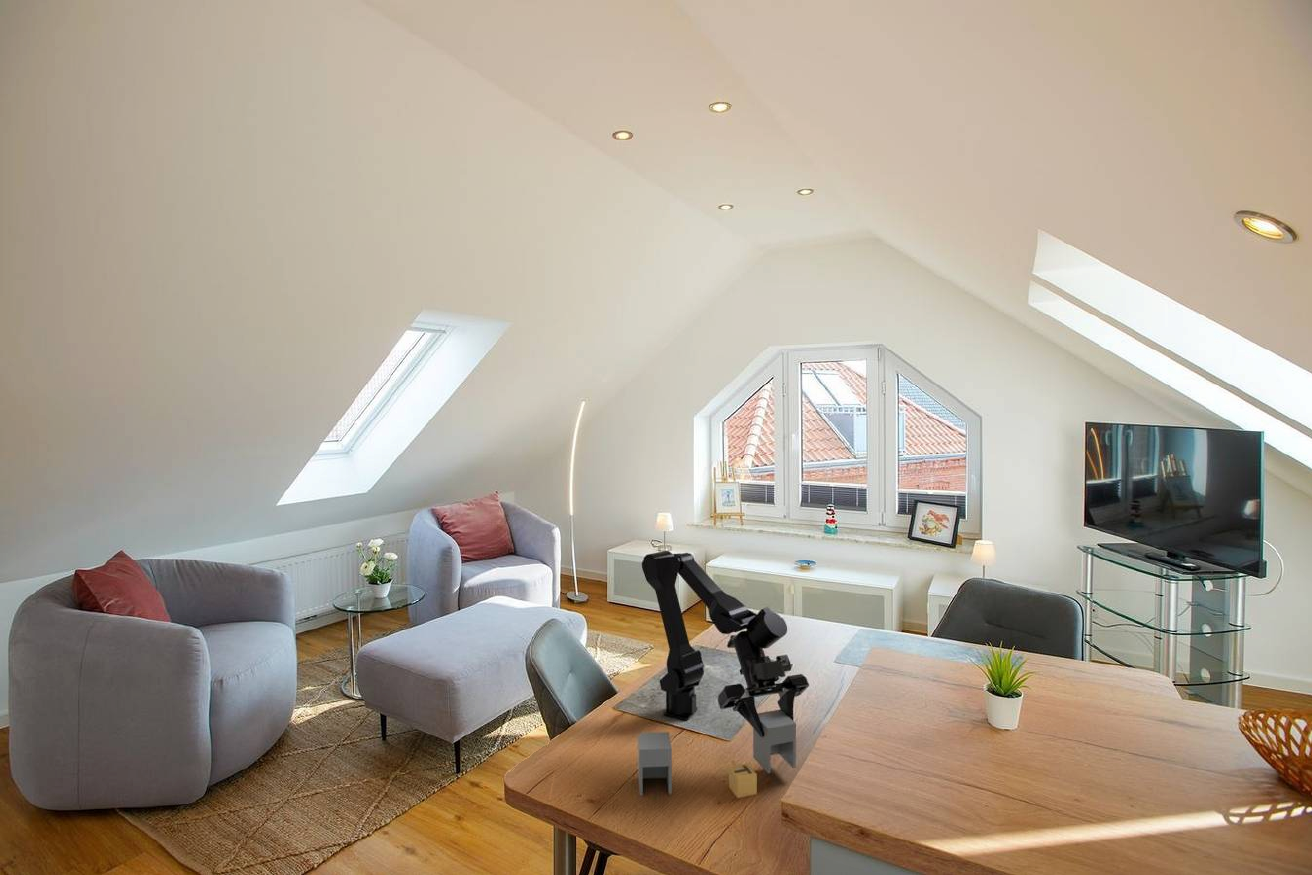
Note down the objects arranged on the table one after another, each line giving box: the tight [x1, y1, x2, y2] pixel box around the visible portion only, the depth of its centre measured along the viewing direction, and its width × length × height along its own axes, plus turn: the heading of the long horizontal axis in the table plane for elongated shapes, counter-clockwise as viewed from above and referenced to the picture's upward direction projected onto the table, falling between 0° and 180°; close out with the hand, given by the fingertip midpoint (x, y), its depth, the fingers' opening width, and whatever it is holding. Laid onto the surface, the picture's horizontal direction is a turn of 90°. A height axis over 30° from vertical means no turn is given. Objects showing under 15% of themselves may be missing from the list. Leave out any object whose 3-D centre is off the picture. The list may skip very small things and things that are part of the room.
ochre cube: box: [728, 763, 758, 799], centre depth 125 cm, size 4×4×4 cm
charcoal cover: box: [752, 709, 797, 774], centre depth 130 cm, size 6×6×9 cm
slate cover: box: [637, 731, 673, 797], centre depth 127 cm, size 6×6×9 cm
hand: (777, 733), depth 129 cm, fingers closed on charcoal cover, 6 cm apart
